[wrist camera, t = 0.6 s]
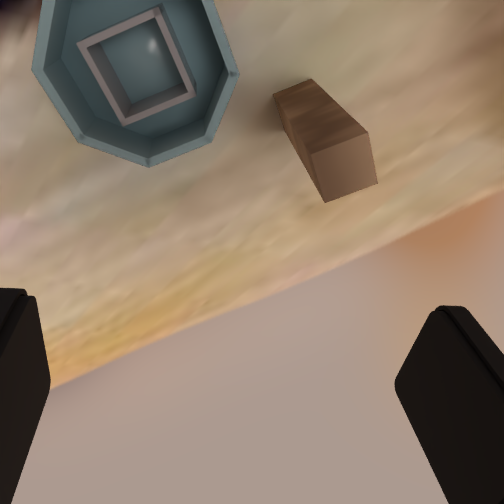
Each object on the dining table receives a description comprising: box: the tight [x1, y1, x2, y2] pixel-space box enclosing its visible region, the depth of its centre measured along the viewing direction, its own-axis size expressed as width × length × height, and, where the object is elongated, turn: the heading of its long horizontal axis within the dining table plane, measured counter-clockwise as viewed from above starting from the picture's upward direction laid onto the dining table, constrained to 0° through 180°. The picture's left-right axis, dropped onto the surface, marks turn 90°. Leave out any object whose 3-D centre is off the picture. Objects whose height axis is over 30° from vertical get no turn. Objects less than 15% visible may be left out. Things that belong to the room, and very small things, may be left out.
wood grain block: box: [273, 79, 378, 203], centre depth 26 cm, size 3×3×12 cm
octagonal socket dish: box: [31, 0, 239, 167], centre depth 26 cm, size 11×11×4 cm
